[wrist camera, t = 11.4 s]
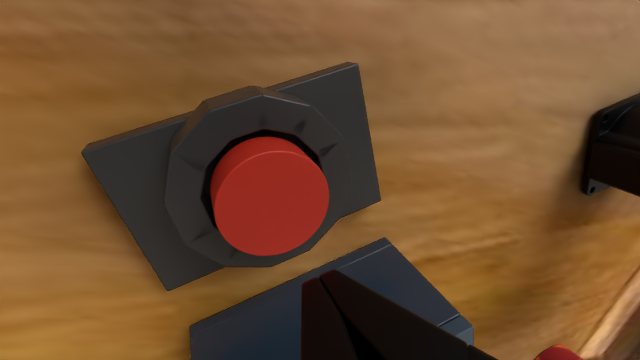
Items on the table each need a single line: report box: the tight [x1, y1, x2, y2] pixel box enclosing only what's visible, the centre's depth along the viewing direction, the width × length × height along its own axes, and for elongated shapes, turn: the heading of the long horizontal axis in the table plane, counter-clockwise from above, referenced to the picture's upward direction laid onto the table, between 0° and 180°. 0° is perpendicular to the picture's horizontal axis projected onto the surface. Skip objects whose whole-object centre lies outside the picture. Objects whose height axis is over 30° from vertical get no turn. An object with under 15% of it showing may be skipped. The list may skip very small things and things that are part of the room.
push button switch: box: [81, 62, 381, 291], centre depth 14 cm, size 11×7×3 cm
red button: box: [210, 136, 329, 256], centre depth 12 cm, size 4×4×2 cm
